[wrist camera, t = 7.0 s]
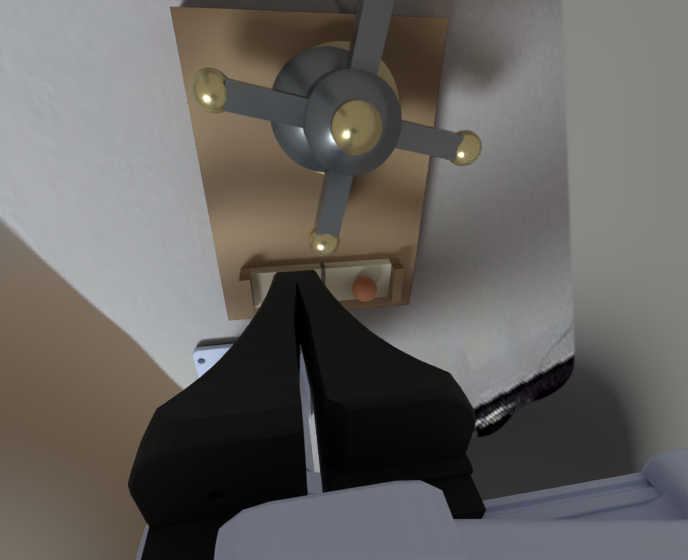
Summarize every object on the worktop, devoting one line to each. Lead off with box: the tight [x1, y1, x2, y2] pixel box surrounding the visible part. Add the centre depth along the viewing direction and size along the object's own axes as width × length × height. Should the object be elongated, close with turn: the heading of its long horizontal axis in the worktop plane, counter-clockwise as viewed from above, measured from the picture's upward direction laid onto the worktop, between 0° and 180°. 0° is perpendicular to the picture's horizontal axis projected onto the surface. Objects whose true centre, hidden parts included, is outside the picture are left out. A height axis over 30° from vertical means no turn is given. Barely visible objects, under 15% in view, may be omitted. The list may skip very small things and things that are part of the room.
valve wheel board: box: [170, 7, 449, 320], centre depth 19 cm, size 16×12×4 cm
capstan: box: [190, 0, 482, 256], centre depth 16 cm, size 13×13×4 cm
